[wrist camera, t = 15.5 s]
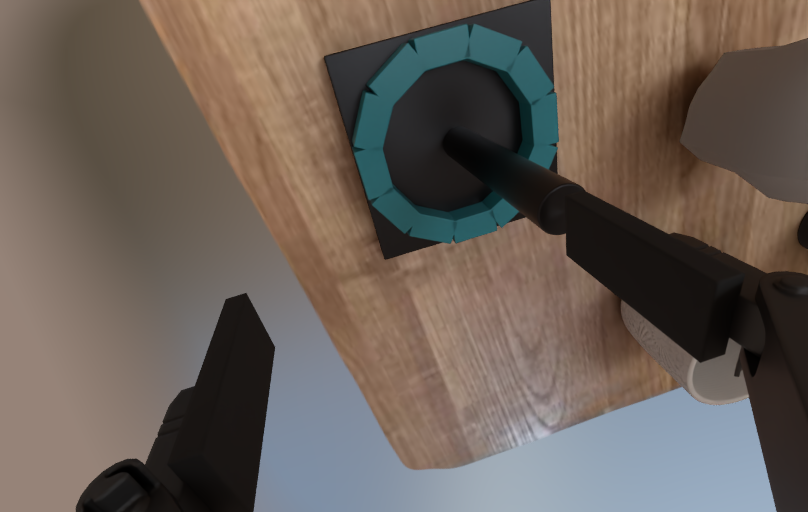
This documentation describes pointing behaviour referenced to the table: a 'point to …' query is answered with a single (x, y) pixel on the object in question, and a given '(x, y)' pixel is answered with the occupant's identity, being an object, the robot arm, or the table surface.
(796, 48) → the bottle
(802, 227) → the travel mug
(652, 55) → the table surface
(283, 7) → the table surface
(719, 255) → the robot arm
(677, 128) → the table surface
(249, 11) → the table surface
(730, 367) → the planter
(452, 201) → the post
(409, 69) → the ring
